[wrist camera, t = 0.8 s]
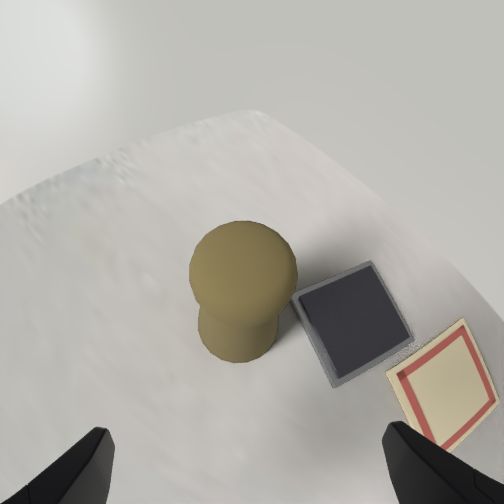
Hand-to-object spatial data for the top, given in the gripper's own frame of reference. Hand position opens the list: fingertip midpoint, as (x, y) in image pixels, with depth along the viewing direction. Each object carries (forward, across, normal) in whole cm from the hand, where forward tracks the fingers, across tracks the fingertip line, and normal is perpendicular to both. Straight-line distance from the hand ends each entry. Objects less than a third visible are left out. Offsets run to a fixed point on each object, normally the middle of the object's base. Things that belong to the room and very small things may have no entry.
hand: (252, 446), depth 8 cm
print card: (+10, -18, +9) cm, 22 cm away
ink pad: (+15, -9, +4) cm, 18 cm away
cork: (+15, 0, +4) cm, 15 cm away
